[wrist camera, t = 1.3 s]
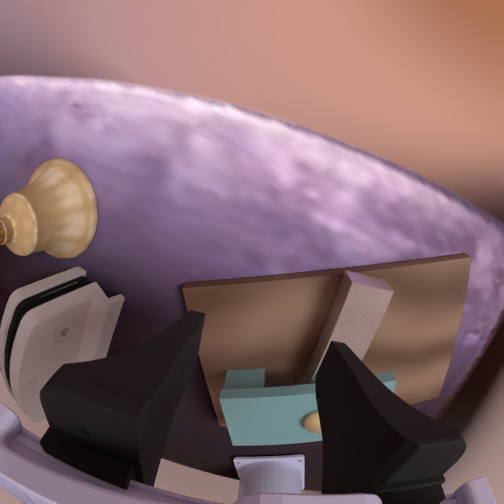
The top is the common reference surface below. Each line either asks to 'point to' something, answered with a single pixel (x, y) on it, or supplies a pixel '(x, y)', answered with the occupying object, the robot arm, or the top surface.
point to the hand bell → (51, 212)
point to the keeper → (273, 409)
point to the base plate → (314, 318)
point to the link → (351, 318)
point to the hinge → (53, 332)
